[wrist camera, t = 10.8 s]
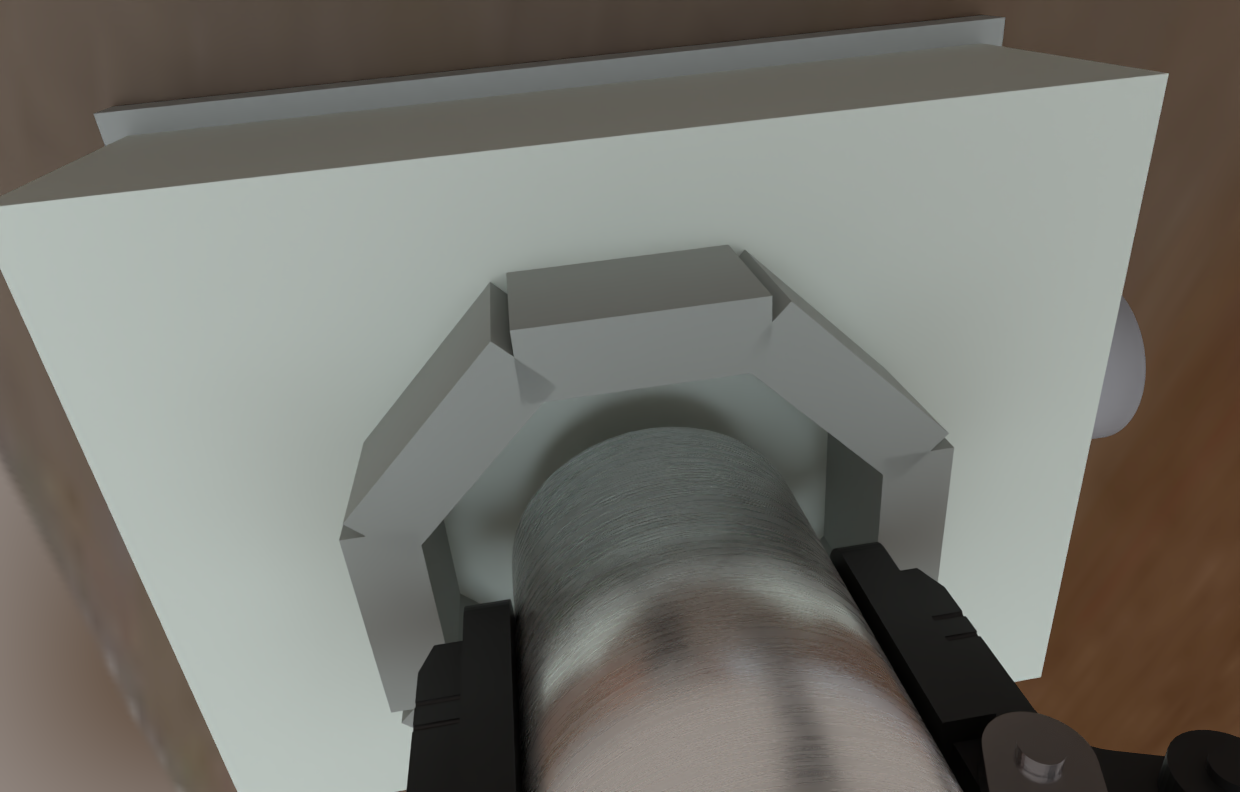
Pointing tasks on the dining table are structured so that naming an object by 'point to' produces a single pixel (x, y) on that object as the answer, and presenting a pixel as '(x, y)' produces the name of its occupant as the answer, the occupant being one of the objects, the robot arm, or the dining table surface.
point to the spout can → (697, 635)
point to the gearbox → (578, 335)
